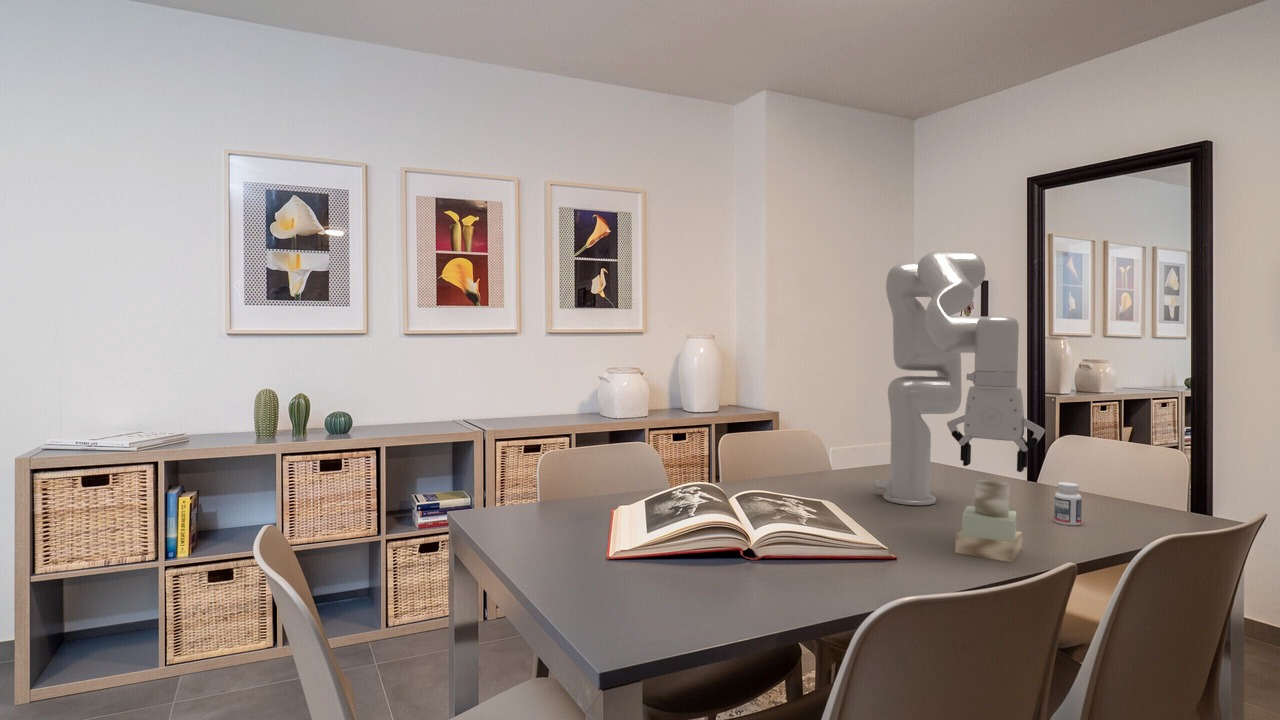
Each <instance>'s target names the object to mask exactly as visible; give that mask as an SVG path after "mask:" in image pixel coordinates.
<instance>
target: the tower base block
mask: <svg viewBox="0 0 1280 720" xmlns="http://www.w3.org/2000/svg"><path fill="white" fill-rule="evenodd" d="M954 546H955V547H954V549H955V550H954V552H955V553H956V554H961V555H966V556H967V555H968V556H973V557H979V558H984V559H989V560H990V559H991V560H995V561H996V560H997V561H1001V562H1006V563H1007V562H1008V563H1013V562H1014V561H1015V559H1016V558H1017V556H1019V554H1020V553H1021V552H1022V550H1023V531H1019V530H1018V531H1017V530H1016V534H1015V539H1014V543H1012V542H1005V541H997V540H990V539H983V538H975V537H968V536H962V529H960V530H958V532H957V533H956V534H955V543H954Z"/></svg>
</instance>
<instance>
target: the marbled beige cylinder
mask: <svg viewBox="0 0 1280 720" xmlns="http://www.w3.org/2000/svg"><path fill="white" fill-rule="evenodd" d="M974 484H975V485H974V487H975V489H974V491H975V493H974V506H975V513H977V514H980V515H984V516H990V517H1006V516H1009V511H1010V483H1009V482H1007V481H1003V480H996V479H977V480H975V483H974Z"/></svg>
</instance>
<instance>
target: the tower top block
mask: <svg viewBox="0 0 1280 720" xmlns="http://www.w3.org/2000/svg"><path fill="white" fill-rule="evenodd" d="M1017 512H1018V511H1016V510H1009V516H1006V517H990V516H984V515H980V514H977V513H975V505H974V506H973V505H966V506H965V509H964V511H963V512H962V516H961V530H962V536H968V537H975V538H983V539H990V540H997V541H1005V542H1012V543H1014V539H1015V534H1016V531H1017Z"/></svg>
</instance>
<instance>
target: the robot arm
mask: <svg viewBox="0 0 1280 720" xmlns="http://www.w3.org/2000/svg"><path fill="white" fill-rule="evenodd" d="M985 276H986V266H985V262H984V260H983V259H982V257H981V256H980V255H979V254H977V253H975V252H972V251H933V252H930V253H927V254H925V255H924V256H923V257H921V259H919V261H918V262H905V263H900V264H896V265H894V266H892V267H891V268H890V269H889V271H888V273H887V276H886V283H885V290H886V296H887V300H888V304H889V306H890V310H891V314H892V332H893V333H892V340H893V341H892V342H893V343H892V344H893V349H892V350H893V360H894V364H895V366H896V367H897V368H898V369H900V370H903V371H908V372H909V371H910V372H912V371H913V372H914V371H915V372H936V374H937V376H929V375H928V376H925V375H906V376H905V375H904V376H900V377H896V378H895V379H893V380H892V381H891V382H890V383H889V385H888V388H887V398H888V405H889V407H888V408H889V412H890V468H889V469H890V471H889V473H890V474H889V476H890V478H889V479H887V480H886V481H883V480H880V479H875V480H874V482H873V486H874V488H875V489H879V490H884V491H885V492H884V493H883V494H882V495H883V497H882V498H883V499H884V500H885V501H888V502H891V503H893V504H898V505H905V506H906V505H908V506H929V505H930V506H931V505H934V504H936V503H937V497H936V496H935V495H933V494H931V493H930V492H931V491H930V488H931V487H930V486H931V485H930V484H931V455H932V454H931V447H932V446H931V443H932V436H931V435H932V434H931V429H930V427H929V426H928V424H927V422H926V421H925V420H924V419H923V417H922V415H948V414H953V413H954V414H955V413H956V412H957V411H958V410H959V409H960V407H961V403H962V392H963V391H962V354H964V353H965V354H966V353H967V354H970V353H971V354H974V370H973V372H971V373H966V381H971V382H972V384H973V385H972V386H969V388H968V392H967V397H966V405H965V411H964V412H965V413H964V415H962V416H959V417H957V418H954V419H951V420H948V421H947V422H946V425H947V427H948V430H949V431H950V433H951V436H952V437H953V438H954V439H955V441H956V442H958V444H959V445H960V461H962V466H963V467H967V466H969V465H971V460H972V457H971V456H972V445H971V443H970V441H971V440H972V439H982V440H983V439H984V440H994V441H995V440H996V441H1007V442H1011V441H1013V442H1014V443H1015V444H1016V446H1017V447H1018V448H1019V450H1018V451H1017V455H1016V461H1017V462H1016V472H1019V473H1022V472H1023V471H1024V470H1025V469H1027V468H1028V461H1029V460H1028V459H1029V455H1028V454H1029V450H1030V449H1031V448H1032V447H1034V446H1035V445H1037V444H1038V442H1040V440H1041V438H1042V437H1043V436H1044V434H1045V432H1046V430H1045V428H1043V427H1041V426H1040V425H1038V424H1036V423H1034V422H1033V421H1032V420H1031V421H1030V420H1029V419H1027V418H1025V414H1024V410H1025V408H1024V400H1023V399H1024V398H1023V395H1022V388H1021V387H1019V388H1018V369H1019V368H1018V366H1019V365H1018V364H1019V363H1018V362H1019V334H1020V333H1019V331H1020V327H1019V325H1020V324H1019V322H1018V320H1017V319H1016V318H1014V317H1011V316H980V315H979V316H977V315H976V316H975V315H973V316H972V315H955V314H957V313H961V312H962V311H964V310H965V309H967V308H968V307H969V306H970V304H971V303H972V302H973V300H974V298H975V297H974V296H975V289H977V288H978V287H980V286H981V285H982V283H983V281H984V280H985ZM917 298H931V300H930V301H929V303H928V305H927V307H926V308H925V306H923V304H922V303H921V302H920V301H919V300H918V299H917ZM962 423H963V432H964V435H963V433H961V431H959V429H958V425H959V424H962ZM1025 428H1026V429H1028V430H1030V431H1032V432H1033V435H1032V437H1031V438H1030V439H1029V440H1026V439H1025V438H1024V437H1023V436H1024V434H1025Z"/></svg>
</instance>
